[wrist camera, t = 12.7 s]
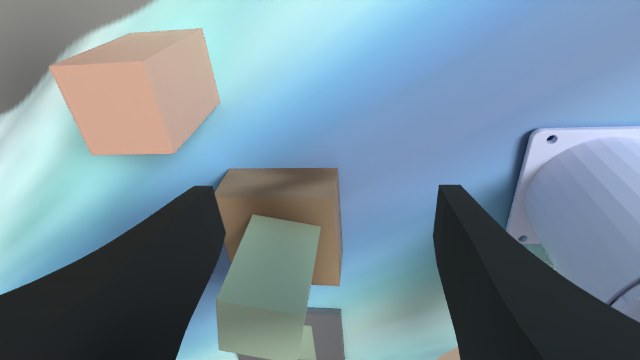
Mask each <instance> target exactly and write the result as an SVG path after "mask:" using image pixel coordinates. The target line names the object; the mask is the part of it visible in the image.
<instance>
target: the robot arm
mask: <svg viewBox="0 0 640 360" xmlns="http://www.w3.org/2000/svg"><path fill="white" fill-rule="evenodd" d="M551 135H554V138H553V139H551V140H549V141H547V138H548V137H549V136H551ZM225 235H226V231H225V228H224V224H223V221H222V217H221V214H220V211H219V207H218V204H217V200H216V197H215V194H214V190H213V187H212V186H194V187H192V188H191V189H189V190H187V191H186V192H184V193H183V194H181V195H180V196H178V197H177V198H175V199H174V200H173V201H171V202H170V203H168V204H167V205H165V206H164V207H163V208H161V209H160V210H158V211H157V212H155V213H154V214H153V215H151V216H150V217H148V218H147V219H145V220H144V221H142V222H141V223H139V224H138V225H136V226H135V227H133V228H132V229H130V230H128V231H127V232H125V233H124V234H122V235H121V236H119V237H118V238H116V239H115V240H113V241H111V242H110V243H108V244H106V245H105V246H103V247H101V248H99V249H98V250H96V251H94V252H92V253H90V254H88V255H87V256H85V257H83V258H81V259H79V260H77V261H75V262H73V263H72V264H69V265H67V266H65V267H63V268H61V269H59V270H57V271H55V272H53V273H50V274H48V275H46V276H44V277H42V278H40V279H38V280H36V281H33V282H31V283H29V284H26V285H24V286H21V287H19V288H17V289H14V290H12V291H9V292H7V293H4V294H2V295H0V360H176V357H177V354H178V351H179V348H180V345H181V342H182V340H183V337H184V334H185V331H186V329H187V326H188V324H189V322H190V319H191V317H192V315H193V313H194V311H195V309H196V306H197V304H198V302H199V300H200V298H201V296H202V294H203V292H204V289H205V287H206V285H207V283H208V281H209V279H210V277H211V274H212V272H213V270H214V268H215V266H216V263H217V261H218V259H219V256H220V252H221V249H222V246H223V242H224V239H225ZM520 236H523V237H521V238H519V237H520ZM433 240H434V247H435V255H436V262H437V267H438V271H439V275H440V278H441V282H442V286H443V290H444V293H445V297H446V301H447V304H448V308H449V312H450V315H451V319H452V323H453V326H454V330H455V334H456V339H457V343H458V348H459V354H460V359H461V360H640V126H617V127H576V128H541V129H537V130H535V131H533V132H532V133H531V135H530V137H529V141H528V145H527V149H526V153H525V156H524V160H523V164H522V168H521V172H520V176H519V180H518V184H517V188H516V192H515V195H514V199H513V203H512V207H511V211H510V215H509V219H508V223H507V227H506V231H505V230H504V229H503V228H502V227H501V226H500V225H499V224H498V223H497V222H496V221H495V220H494V219H493V218H492V217H491V216H490V215H489V214H488V213H487V212H486V211H485V210H484V209H483V208H482V207H481V206H480V205H479V204H478V203H477V202H476V201H475V200H474V199H473V198H472V197H471V196H470V194H469V193H468V192H467V191H466V190H465V189H464V188H463V187H462V186H461V185H439V189H438V197H437V206H436V215H435V223H434V232H433ZM521 244H542V246H543V247H544V249H545V251H546V253H547V254H548V256H549V258H550V260H551V262H552V263H553V265H554V267H555V269H556V271H557V272H556V271H555V270H554V269H552V268H551V267H550V266H548V265H547V264H545V263H544V262H543V261H541V260H540V259H539V258H537V257H536V256H535V255H534V254H532V253H531V252H530V251H529V250H527V249H526V248H525V247H524V246H523V245H521Z"/></svg>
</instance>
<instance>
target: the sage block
mask: <svg viewBox="0 0 640 360" xmlns="http://www.w3.org/2000/svg"><path fill="white" fill-rule="evenodd" d="M320 229H321V226H316V225H310V224H304V223H299V222H293V221H287V220H282V219H276V218H270V217H265V216H259V215H252V217H251V220H250V222H249V224H248V227H247V229H246V231H245V234H244V236H243V238H242V240H241V243H240V245H239V247H238V250H237V252H236V254H235V257H234V259H233V261H232V264H231V266H230V268H229V271H228V273H227V275H226V278H225V280H224V282H223V285H222V287H221V289H220V292H219V294H218V296H217V299H216V309H217V326H218V343H219V350H221V351H227V352H232V353H237V354H243V355H248V356H253V357H259V358H264V359H269V360H298V356H299V350H300V345H301V339H302V333H303V328H304V322H305V316H306V311H307V305H308V299H309V294H310V288H311V282H312V277H313V271H314V265H315V259H316V253H317V247H318V241H319V235H320Z"/></svg>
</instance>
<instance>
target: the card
mask: <svg viewBox="0 0 640 360" xmlns="http://www.w3.org/2000/svg"><path fill="white" fill-rule="evenodd" d="M237 355H238V358H239V360H269V359H264V358H259V357H253V356H248V355H243V354H237ZM298 360H345V357H344V344H343V331H342V319H341V309H325V308H307V311H306V316H305V322H304V328H303V333H302V339H301V345H300V350H299V356H298Z"/></svg>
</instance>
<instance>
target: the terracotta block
mask: <svg viewBox="0 0 640 360" xmlns="http://www.w3.org/2000/svg"><path fill="white" fill-rule="evenodd" d="M49 68H50V70H51V72H52V74H53V77H54V79H55V81H56V83H57V85H58V87H59V89H60V91H61V93H62V95H63V97H64V99H65V101H66V103H67V105H68V108H69V110H70V112H71V114H72V116H73V118H74V120H75V122H76V124H77V126H78V128H79V130H80V132H81V134H82V136H83V139H84V141H85V143H86V145H87V147H88V149H89V151H90V153H91V155H126V154H174V153H175V152H176V151H177V150H178V149H179V148H180V147H181V145H182V144H183V143H184V142H185V141H186V140H187V139H188V138H189V137H190V135H191V134H192V133H193V132H194V131H195V130H196V129H197V128H198V127H199V125H200V124H201V123H202V122H203V121H204V120H205V119H206V118H207V116H208V115H209V114H210V113H211V112H212V111H213V110H214V109H215V108H216V106H217V105H218V104H219V103H220V99H219V95H218V91H217V87H216V83H215V79H214V75H213V70H212V66H211V62H210V58H209V54H208V50H207V46H206V41H205V37H204V33H203V29H202V28H199V29H184V30H169V31H154V32H140V33H130V34H127V35H125V36H122V37H120V38H117V39H115V40H113V41H110V42H108V43H105V44H103V45H100V46H98V47H95V48H93V49H90V50H88V51H85V52H83V53H81V54H78V55H76V56H73V57H71V58H68V59H66V60H63V61H61V62H58V63H56V64H54V65H51V66H49Z"/></svg>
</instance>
